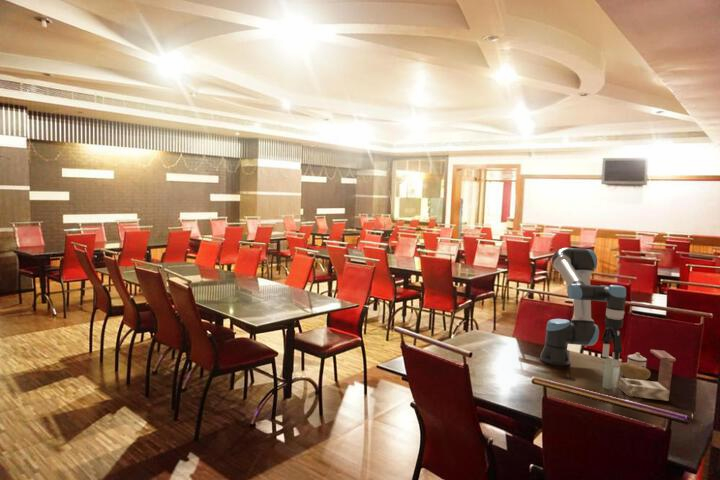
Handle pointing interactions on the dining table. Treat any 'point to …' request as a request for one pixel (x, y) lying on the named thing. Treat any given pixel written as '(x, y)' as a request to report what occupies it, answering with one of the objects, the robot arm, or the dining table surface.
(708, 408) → the dining table surface
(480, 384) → the dining table surface
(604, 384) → the peg
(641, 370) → the potato
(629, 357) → the teacup with lid
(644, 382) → the socket stand
